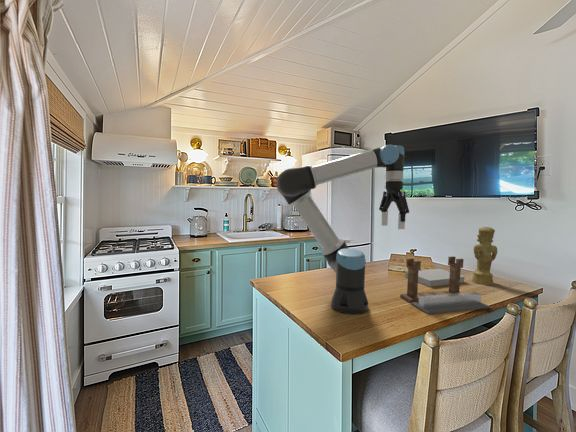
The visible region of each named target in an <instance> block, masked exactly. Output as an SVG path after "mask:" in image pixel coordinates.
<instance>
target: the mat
mask: <svg viewBox="0 0 576 432" xmlns="http://www.w3.org/2000/svg"><path fill="white" fill-rule="evenodd" d="M410 305H411V306H413V307H415V308H416V309H418V310H419V311H422V312H423V313H425V314H426V315H431V314H442V313H451V312H463V311H473V310H483V309H490V308H491V307H490V305H487V304H486V303H483V302H481V303H477V304H466V305H455V306H444V307H434V308H422V307H420V306H419V302H413V303H410Z"/></svg>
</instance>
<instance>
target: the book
mask: <svg viewBox="0 0 576 432" xmlns="http://www.w3.org/2000/svg"><path fill="white" fill-rule="evenodd" d="M404 277H405V278H406V279H408V271H406V272H404ZM449 277H450V270H449V271H448V270H445V269H442V268H433V269H432V268H431V269H426V270H425V269H424V270H423V269H422V270H421V269H420V270H418V284H419V283H420V284H422V285H424V286H426V287H430V288H432V287H439V286H440V287H441V286H447V285H448V286H449ZM465 278H466V276H464V275H461V274H460V284H463V283H464V284H465Z"/></svg>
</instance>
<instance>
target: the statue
mask: <svg viewBox="0 0 576 432" xmlns="http://www.w3.org/2000/svg"><path fill="white" fill-rule="evenodd" d="M495 231H496V229H494V228H492V227H489V226H482V227H479V228H478V234H476V236H477V239H476V241H477V242H479V243H478V244H475V245H474V246H473V253H474V254H473V255H474V257H475V259H476V260H477V261H476V267H477V268H476V269H475V270H474V271H473V276H472V277H471V280H470V281H471V282H472V283H475V284H477V283H478V284H479V285H482V286H483V285H485V286H493V285H494V284H495V283H494V279H493V276H494V275H493V273H491V269H492V268H491V267H492V262H493V261H494V260H495V259H496V258H497V254H498V247H497V246H496V245H492V243H493V242H494V235H495Z"/></svg>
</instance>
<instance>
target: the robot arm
mask: <svg viewBox="0 0 576 432" xmlns="http://www.w3.org/2000/svg"><path fill="white" fill-rule="evenodd" d="M404 164H405V148H404V146H403V145H394V144H384V145H383V146H380V147H377V148H373V149H365V150H362V151H361V152H359V153H354V154H351V155H349V156H345V157H341V158H338V159H335V160H331V161H328V162H324V163H320V164H317V165H313V166H311V165H309V164H307V165H305V166H304V165H303V166H299V167H293V168H287V169H285V170H284V171H282V172H280V174H278V175H277V176H278V177H277V178H276V183H275V184H276V189H277V191H278V192H279V194H281V196H282V197H283V199H284V200H285V201H286V204H288V205H289V206H293V207H294V208H295V210H296V212H297V213H298V214H299V216H300V218H301V219H302V220H303V222H304V223H305V224H306V227H307V228H308V230H310V232H311V234H312V235H313V237H314V238H315V240H316V241H317V243H318V244H319V246H320V247H321V248H322V251H321V254H322V256H323V257H324V259H325V261H326V263H327V265H328V266H329V268H331V270H333V272H335V289H334V292H333V294H332V297H331V301H330V304H331V305H330V306H331V307H332V308H333V309H334V310H335V311H337V312H339V313H343V314H350V315H352V314H353V315H356V314H357V315H359V314H364V313H366V312H367V311H368V310H369V301H368V296H367V294H366V291H365V283H366V282H365V280H366V255H365V253H364V251H361V250H359V249H356V248H350V247H349V246H348V245H347V243H346V242H345V240H344V239H342V238H339V237H338V235H336V232H334V229H333V228H332V227H331V225H330V224H329V222H328V221H327V219H326V218H325V216H324V215H323V213H322V211H321V210H320V208H319V207H318V205H317V204H316V203H315V201H314V199H313V198H312V196H311V191H312V190H314V189H316V188H317V187H318V185H323V184H325V183H329V182H332V181H335V180H338V179H339V180H340V179H342V178H345V177H346V178H347V177H349V176H352V175H357V174H359V173H363V172H366V171H369V170H373V169H377V168H385V180H386V181H385V185H384V187H385V188H384V189H385V190H386V191H383V193H382V198H381V201H380V204H379V208H378V209H379V211H380V212H381V226H383V227H385V226H388V220H389V219H388V216H389V209H390V206H391V204H392V203H395V205H396V208H397V209H398V219H397V222H398V223H397V229H398V230H405V226H406V225H405V224H406V215H407V214H409V213H410V209H409V205H408V202H407V201H408V200H407V197H406V191H403V188H404V182H403V181H404V167H405V166H404ZM401 190H402V191H401Z"/></svg>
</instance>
